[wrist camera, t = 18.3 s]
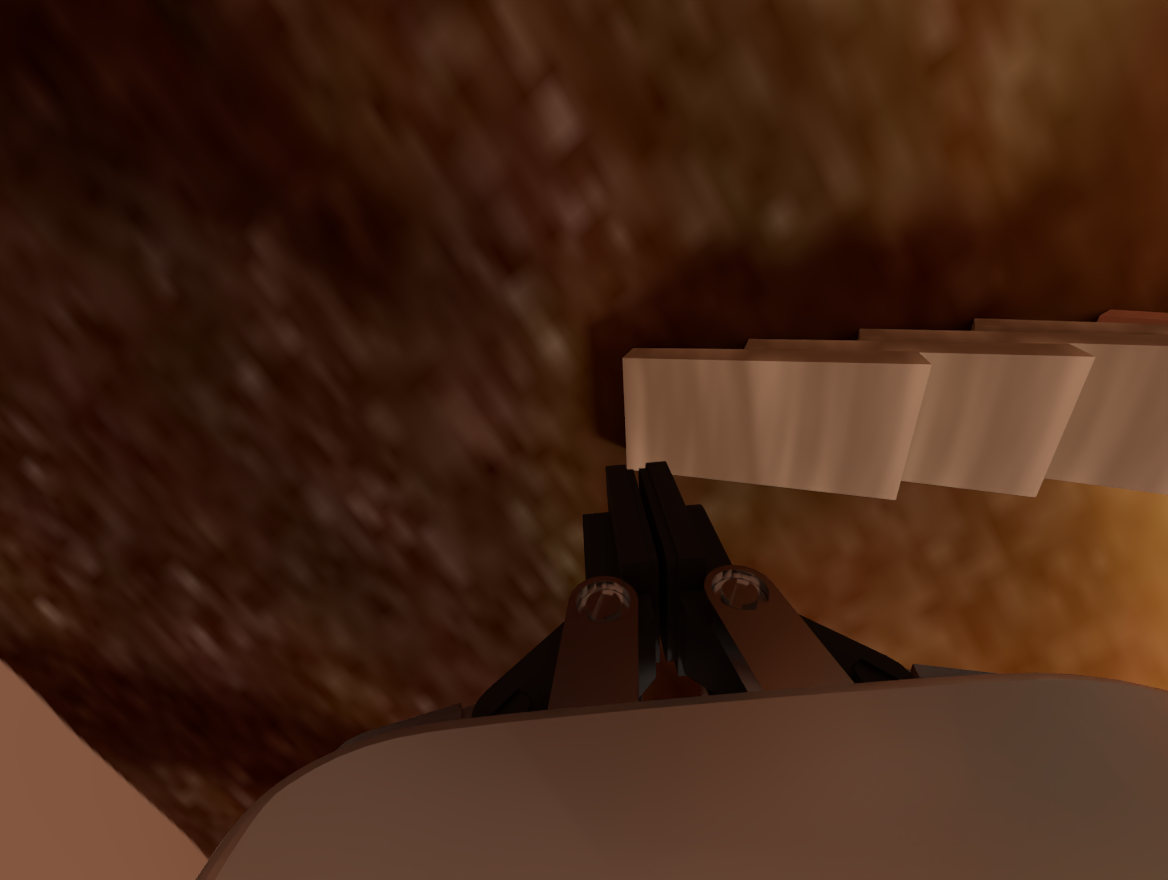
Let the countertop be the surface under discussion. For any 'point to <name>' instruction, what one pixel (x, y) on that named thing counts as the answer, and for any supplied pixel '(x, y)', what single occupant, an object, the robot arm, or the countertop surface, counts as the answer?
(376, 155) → the countertop surface
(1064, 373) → the tile
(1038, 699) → the robot arm
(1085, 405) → the tile
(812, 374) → the tile
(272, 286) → the countertop surface
